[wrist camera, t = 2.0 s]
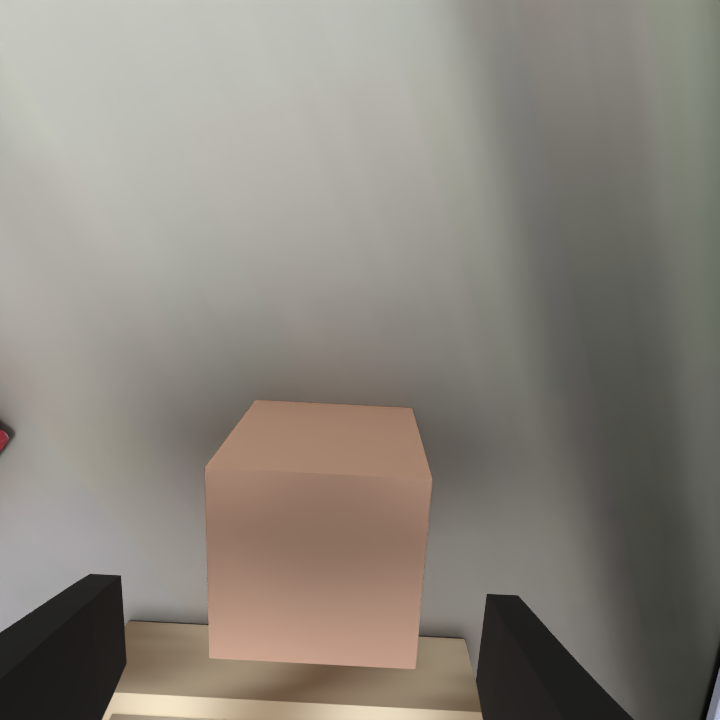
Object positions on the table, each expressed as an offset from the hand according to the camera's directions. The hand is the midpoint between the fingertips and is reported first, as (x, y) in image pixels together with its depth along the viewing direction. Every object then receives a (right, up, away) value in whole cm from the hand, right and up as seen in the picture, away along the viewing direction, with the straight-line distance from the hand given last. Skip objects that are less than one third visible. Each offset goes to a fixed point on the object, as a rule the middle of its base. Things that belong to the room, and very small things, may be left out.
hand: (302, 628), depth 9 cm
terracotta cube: (0, +1, +7) cm, 7 cm away
